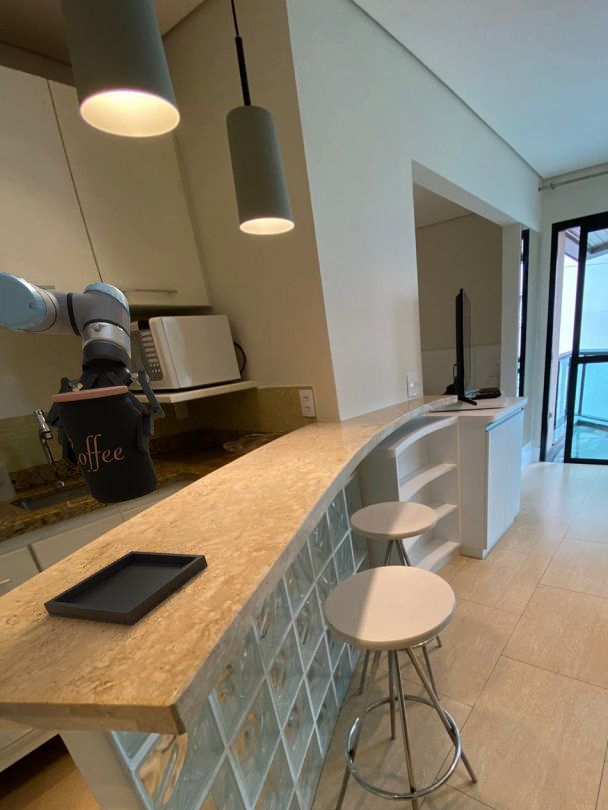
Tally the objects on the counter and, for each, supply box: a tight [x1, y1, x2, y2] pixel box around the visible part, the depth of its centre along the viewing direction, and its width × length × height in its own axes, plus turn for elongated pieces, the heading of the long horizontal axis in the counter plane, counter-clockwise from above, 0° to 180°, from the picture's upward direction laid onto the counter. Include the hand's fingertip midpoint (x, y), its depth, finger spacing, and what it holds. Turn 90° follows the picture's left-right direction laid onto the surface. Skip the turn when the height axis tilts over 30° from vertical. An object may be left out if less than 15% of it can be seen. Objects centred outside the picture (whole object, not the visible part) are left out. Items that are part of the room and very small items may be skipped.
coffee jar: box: [50, 386, 160, 505], centre depth 70 cm, size 11×11×18 cm
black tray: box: [43, 550, 208, 626], centre depth 63 cm, size 16×16×2 cm
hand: (107, 456), depth 68 cm, fingers closed on coffee jar, 10 cm apart
